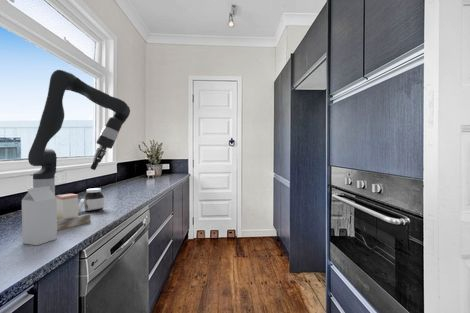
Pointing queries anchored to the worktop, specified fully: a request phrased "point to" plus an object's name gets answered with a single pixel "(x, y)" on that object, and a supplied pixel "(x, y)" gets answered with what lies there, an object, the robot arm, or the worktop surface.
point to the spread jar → (92, 200)
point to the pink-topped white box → (67, 206)
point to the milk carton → (39, 216)
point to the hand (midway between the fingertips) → (92, 169)
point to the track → (73, 221)
